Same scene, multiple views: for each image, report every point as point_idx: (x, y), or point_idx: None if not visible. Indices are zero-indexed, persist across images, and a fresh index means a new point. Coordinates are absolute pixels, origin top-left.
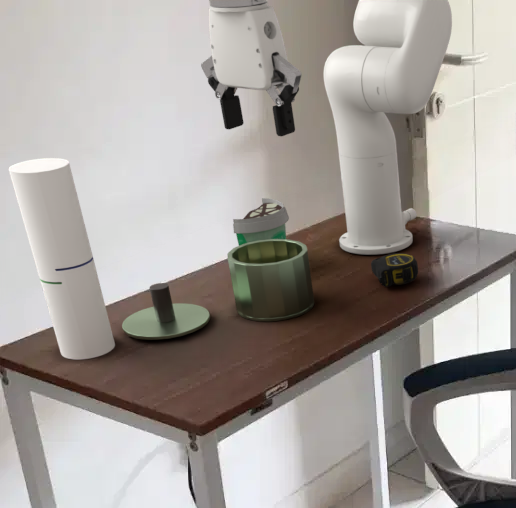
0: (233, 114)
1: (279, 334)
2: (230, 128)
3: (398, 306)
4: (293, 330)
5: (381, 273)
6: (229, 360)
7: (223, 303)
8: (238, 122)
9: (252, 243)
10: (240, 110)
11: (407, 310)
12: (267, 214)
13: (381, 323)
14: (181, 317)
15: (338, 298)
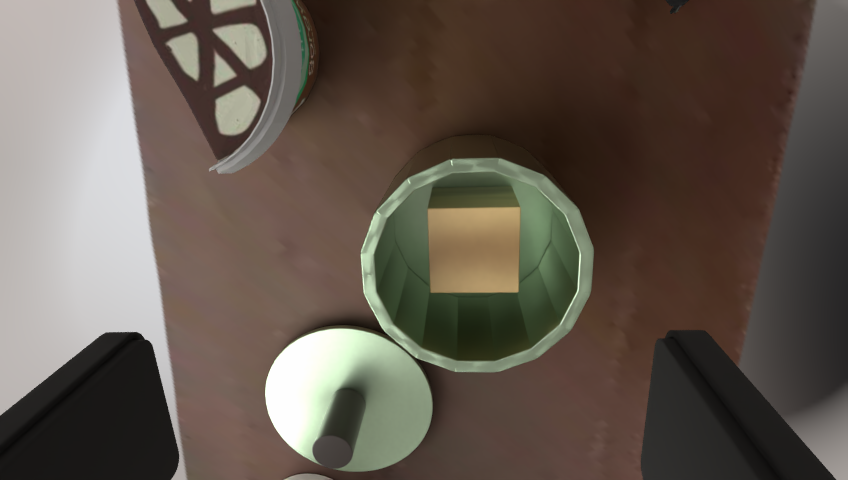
0: (111, 476)
1: (582, 327)
2: (177, 453)
3: (757, 72)
4: (596, 300)
5: (685, 1)
6: (573, 445)
7: (351, 263)
8: (148, 396)
9: (379, 238)
10: (78, 410)
11: (793, 82)
12: (219, 20)
13: (768, 180)
14: (367, 385)
15: (576, 108)
